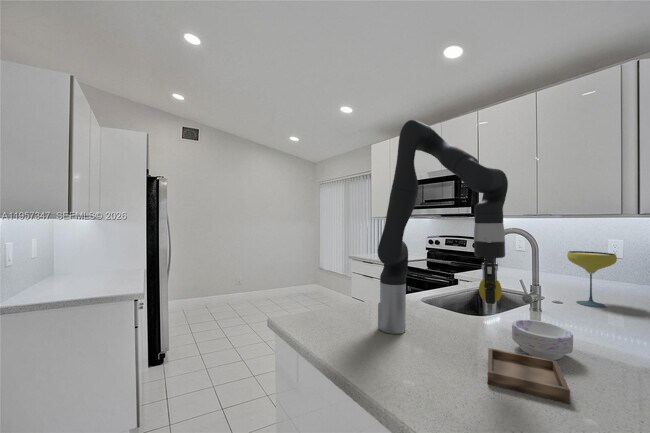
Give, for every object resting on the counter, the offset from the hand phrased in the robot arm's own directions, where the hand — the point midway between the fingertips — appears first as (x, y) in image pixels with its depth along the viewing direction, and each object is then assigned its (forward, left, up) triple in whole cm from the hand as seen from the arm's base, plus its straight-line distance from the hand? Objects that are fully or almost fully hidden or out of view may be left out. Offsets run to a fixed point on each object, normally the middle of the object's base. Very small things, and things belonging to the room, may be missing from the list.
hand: (490, 300), depth 83 cm
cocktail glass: (+43, +97, -18) cm, 107 cm away
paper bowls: (+14, +18, -18) cm, 29 cm away
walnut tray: (+8, -2, -18) cm, 20 cm away
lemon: (0, 0, -1) cm, 1 cm away
